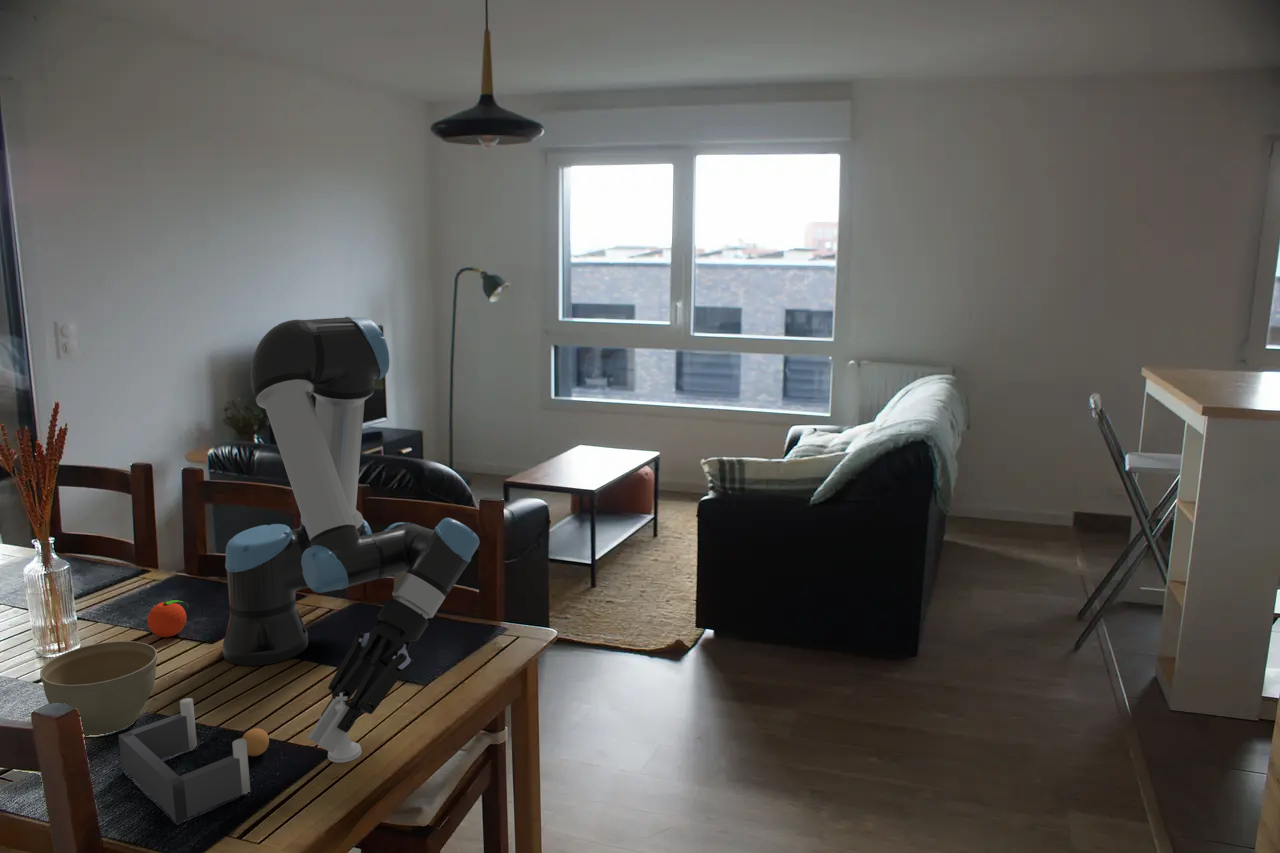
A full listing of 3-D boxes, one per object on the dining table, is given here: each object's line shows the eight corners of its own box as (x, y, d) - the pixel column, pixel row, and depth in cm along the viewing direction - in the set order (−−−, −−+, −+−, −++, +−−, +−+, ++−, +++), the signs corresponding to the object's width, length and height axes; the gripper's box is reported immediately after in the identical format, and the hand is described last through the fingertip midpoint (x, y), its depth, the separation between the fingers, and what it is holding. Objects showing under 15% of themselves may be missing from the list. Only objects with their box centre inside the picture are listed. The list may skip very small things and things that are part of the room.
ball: (235, 757, 140) (233, 733, 139) (257, 744, 143) (255, 721, 143) (254, 763, 138) (252, 739, 137) (275, 751, 142) (273, 727, 141)
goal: (194, 744, 143) (189, 696, 142) (252, 793, 131) (248, 741, 129) (122, 772, 136) (116, 722, 134) (176, 826, 123) (171, 772, 122)
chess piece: (332, 746, 143) (328, 686, 141) (364, 745, 144) (361, 685, 142) (324, 763, 138) (320, 701, 137) (357, 762, 139) (354, 700, 137)
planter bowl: (82, 761, 138) (74, 694, 136) (27, 731, 147) (19, 667, 145) (183, 716, 152) (177, 655, 150) (128, 691, 160) (122, 632, 158)
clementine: (181, 624, 189) (178, 591, 188) (200, 632, 185) (197, 598, 184) (142, 637, 182) (138, 603, 181) (160, 646, 178) (156, 611, 177)
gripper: (453, 632, 144) (364, 773, 135) (397, 607, 154) (311, 737, 145) (424, 610, 139) (329, 754, 130) (368, 585, 149) (276, 718, 140)
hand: (319, 745), depth 138 cm, fingers closed on chess piece, 2 cm apart
